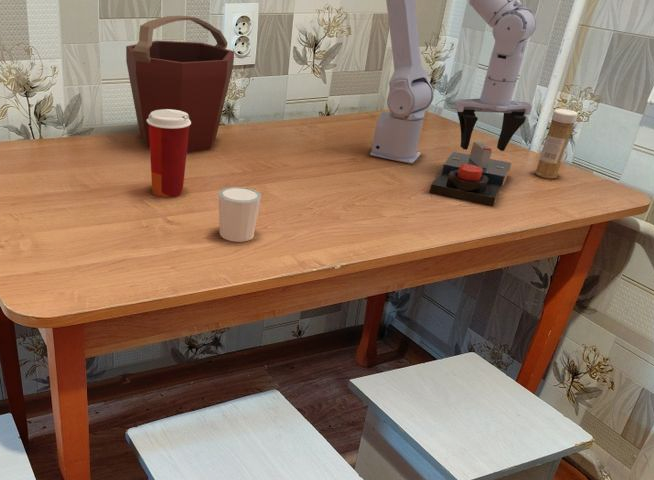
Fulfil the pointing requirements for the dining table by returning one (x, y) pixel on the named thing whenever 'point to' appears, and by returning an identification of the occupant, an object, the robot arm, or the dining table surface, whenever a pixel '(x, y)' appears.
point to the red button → (470, 172)
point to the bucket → (180, 80)
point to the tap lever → (480, 154)
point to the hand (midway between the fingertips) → (482, 148)
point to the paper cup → (168, 150)
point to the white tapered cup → (238, 213)
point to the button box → (466, 188)
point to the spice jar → (556, 143)
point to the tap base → (494, 171)
